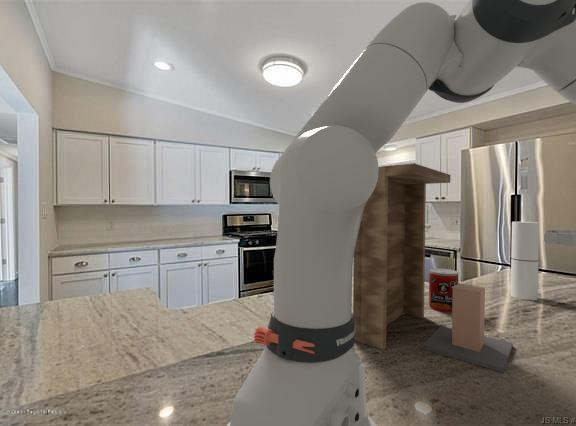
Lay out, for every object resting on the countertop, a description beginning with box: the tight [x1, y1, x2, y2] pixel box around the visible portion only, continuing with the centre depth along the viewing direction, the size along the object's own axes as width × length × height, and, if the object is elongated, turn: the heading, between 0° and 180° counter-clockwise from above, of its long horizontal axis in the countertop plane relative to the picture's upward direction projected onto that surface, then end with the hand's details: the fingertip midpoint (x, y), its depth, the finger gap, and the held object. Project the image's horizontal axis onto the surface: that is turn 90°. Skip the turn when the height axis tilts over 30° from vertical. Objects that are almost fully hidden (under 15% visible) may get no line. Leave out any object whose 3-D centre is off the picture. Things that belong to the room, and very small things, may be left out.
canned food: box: [428, 267, 459, 313], centre depth 91 cm, size 8×8×11 cm
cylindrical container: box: [510, 221, 540, 301], centre depth 102 cm, size 7×7×25 cm
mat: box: [422, 325, 514, 374], centre depth 65 cm, size 14×14×1 cm
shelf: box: [352, 163, 451, 351], centre depth 73 cm, size 13×26×38 cm, turn 139°
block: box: [451, 282, 486, 352], centre depth 65 cm, size 5×5×12 cm
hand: (545, 235), depth 56 cm, fingers open, 8 cm apart
